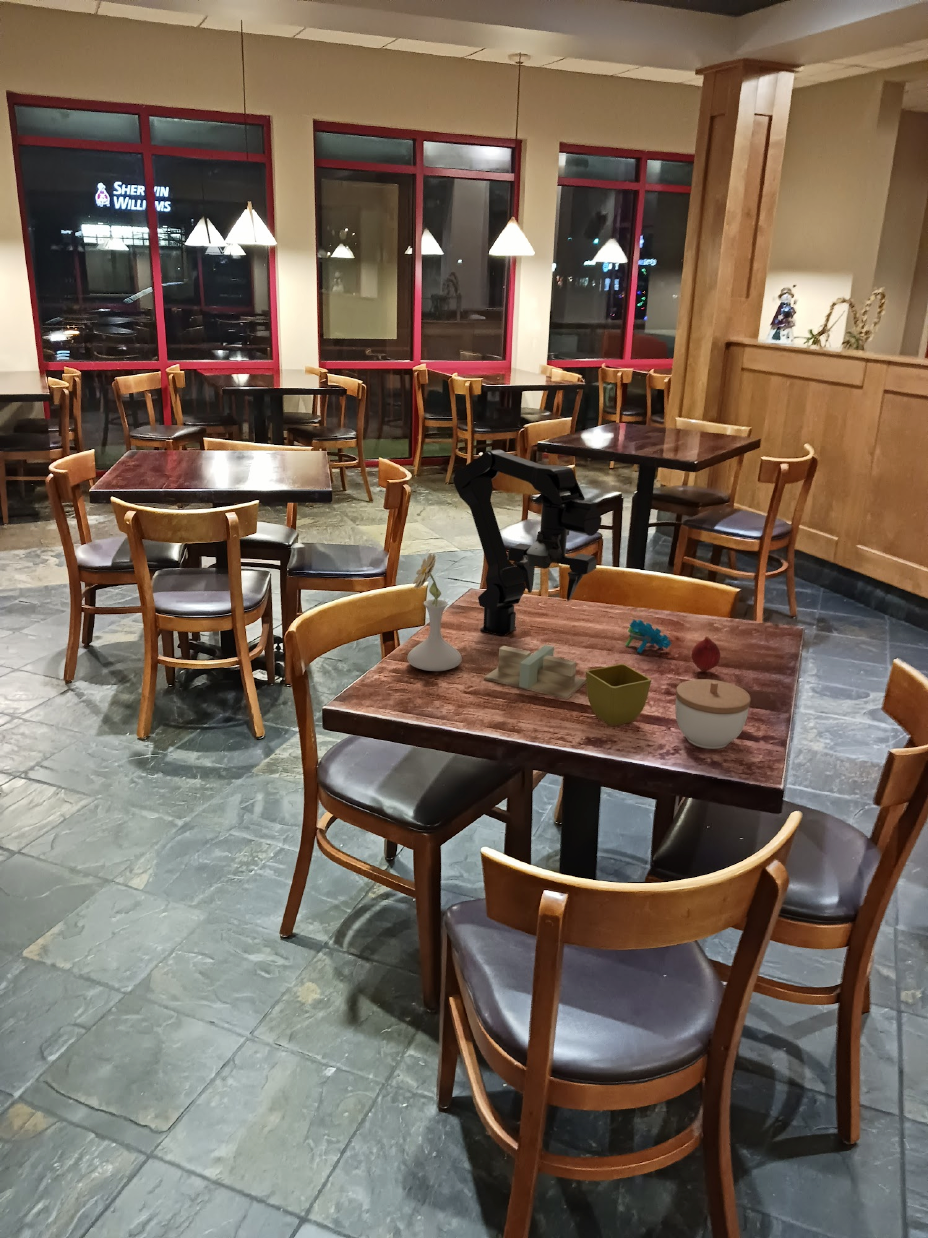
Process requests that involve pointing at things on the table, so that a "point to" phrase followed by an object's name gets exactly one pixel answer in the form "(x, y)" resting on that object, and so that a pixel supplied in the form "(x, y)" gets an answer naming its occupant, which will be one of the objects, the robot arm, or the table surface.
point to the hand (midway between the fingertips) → (549, 596)
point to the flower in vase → (433, 629)
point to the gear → (646, 635)
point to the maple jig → (550, 677)
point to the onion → (705, 654)
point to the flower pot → (617, 693)
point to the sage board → (533, 666)
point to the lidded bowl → (711, 712)
